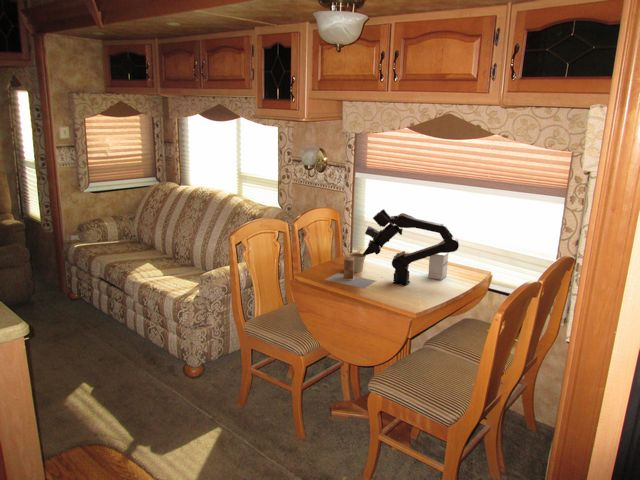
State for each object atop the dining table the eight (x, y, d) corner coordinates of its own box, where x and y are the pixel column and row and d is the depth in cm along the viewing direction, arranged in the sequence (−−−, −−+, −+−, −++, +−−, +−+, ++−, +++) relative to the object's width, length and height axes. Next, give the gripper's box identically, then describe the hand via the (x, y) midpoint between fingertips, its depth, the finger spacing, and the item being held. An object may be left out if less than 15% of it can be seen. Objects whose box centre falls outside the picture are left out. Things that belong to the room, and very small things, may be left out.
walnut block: (354, 277, 256) (354, 257, 253) (352, 280, 251) (353, 260, 249) (345, 276, 256) (345, 257, 254) (343, 279, 252) (344, 259, 250)
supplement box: (442, 280, 254) (443, 255, 250) (427, 277, 257) (429, 253, 254) (447, 276, 260) (448, 252, 257) (433, 273, 264) (434, 249, 260)
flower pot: (344, 272, 264) (344, 256, 262) (351, 267, 272) (352, 251, 270) (361, 275, 260) (361, 258, 258) (368, 270, 268) (368, 254, 266)
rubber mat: (376, 281, 251) (376, 280, 251) (364, 289, 240) (364, 288, 240) (337, 273, 262) (337, 272, 262) (324, 280, 252) (324, 279, 252)
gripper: (377, 217, 253) (354, 238, 258) (373, 225, 235) (349, 247, 240) (393, 234, 253) (369, 254, 258) (390, 243, 236) (365, 265, 241)
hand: (363, 254), depth 249 cm, fingers closed
